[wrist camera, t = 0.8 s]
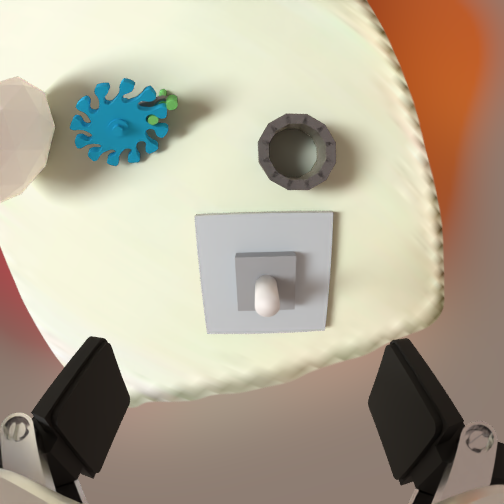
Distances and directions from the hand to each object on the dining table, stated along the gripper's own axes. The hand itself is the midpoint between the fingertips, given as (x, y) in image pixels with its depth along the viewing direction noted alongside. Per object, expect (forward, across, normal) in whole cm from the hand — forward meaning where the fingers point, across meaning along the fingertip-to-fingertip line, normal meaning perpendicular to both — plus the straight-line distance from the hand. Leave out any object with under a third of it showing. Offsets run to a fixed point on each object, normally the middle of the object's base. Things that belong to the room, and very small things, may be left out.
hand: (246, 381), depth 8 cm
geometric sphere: (+22, +28, -13) cm, 38 cm away
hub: (+22, -4, -8) cm, 24 cm away
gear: (+22, +12, -11) cm, 28 cm away
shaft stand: (+22, -1, +5) cm, 23 cm away
